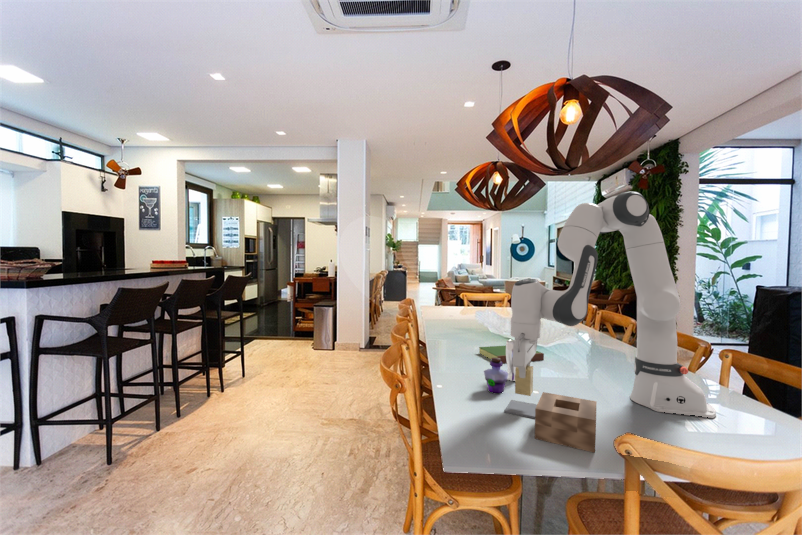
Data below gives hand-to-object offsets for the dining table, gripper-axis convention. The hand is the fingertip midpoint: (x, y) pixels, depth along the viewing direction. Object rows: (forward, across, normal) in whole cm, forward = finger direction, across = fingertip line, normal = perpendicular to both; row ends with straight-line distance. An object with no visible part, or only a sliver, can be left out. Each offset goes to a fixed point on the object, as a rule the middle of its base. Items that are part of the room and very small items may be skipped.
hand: (524, 374), depth 115 cm
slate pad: (+11, 0, 0) cm, 11 cm away
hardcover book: (+12, +64, +18) cm, 67 cm away
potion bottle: (+11, +12, +12) cm, 20 cm away
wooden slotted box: (+11, -11, -13) cm, 20 cm away
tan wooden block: (+6, 0, 0) cm, 6 cm away
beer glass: (+11, +29, +9) cm, 32 cm away
